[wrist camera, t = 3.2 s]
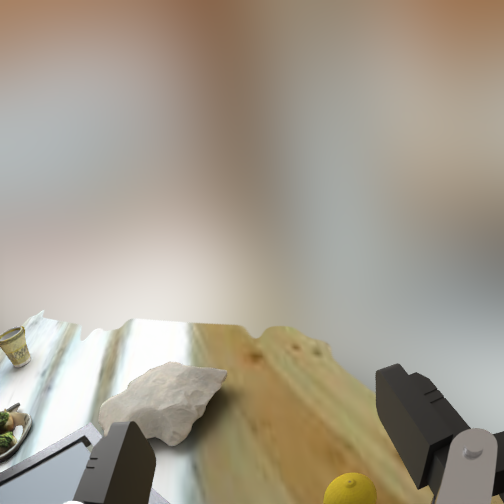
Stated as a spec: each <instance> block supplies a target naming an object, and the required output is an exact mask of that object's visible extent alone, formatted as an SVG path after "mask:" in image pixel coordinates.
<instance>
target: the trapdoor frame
mask: <svg viewBox="0 0 504 504" xmlns="http://www.w3.org/2000/svg"><path fill="white" fill-rule="evenodd" d="M101 438H102V435H101V434H100V433H99V432H98V431H97V430H96V428H95V427H94V426H93V425H92V424H91V422H90V423H89V424H87V425H85V426H84V427H82V428H80V429H79V430H77V431H75V432H74V433H72V434H70V435H68V436H67V437H65V438H63V439H61V440H60V441H58V442H56V443H54V444H53V445H51V446H49V447H47V448H46V449H44V450H42V451H40V452H38V453H37V454H35V455H33V456H31V457H29V458H27V459H26V460H24V461H22V462H20V463H18V464H16V465H14V466H12V467H11V468H9V469H7V470H5V471H3V472H1V473H0V486H1V485H3V484H5V483H7V482H9V481H11V480H13V479H15V478H16V477H18V476H20V475H22V474H24V473H26V472H28V471H30V470H31V469H33V468H35V467H37V466H39V465H40V464H42V463H44V462H46V461H48V460H49V459H51V458H53V457H55V456H56V455H58V454H60V453H62V452H63V451H65V450H67V449H69V448H70V447H72V446H74V445H75V444H77V443H78V444H79V443H81V442H82V443H83V444H84V445H85V447H88V446H89V445H92V446H93V447H94V446H95V445H96V444H97V443H98V441H99V440H100V439H101ZM148 504H170V503H169V502H168V501H166V500H165V499H164V498H163V497H162V496H161V495H160V494H158V493H157V492H156V491H155V490H154V489H153V488H152V487H151V492H150V497H149V503H148Z"/></svg>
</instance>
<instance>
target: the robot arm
mask: <svg viewBox="0 0 504 504" xmlns="http://www.w3.org/2000/svg"><path fill="white" fill-rule="evenodd" d="M376 408H377V412H378V416H379V418H380V421H381V422H382V424H383V426H384V428H385V430H386V431H387V433H388V435H389V437H390V439H391V441H392V442H393V444H394V446H395V448H396V450H397V452H398V453H399V455H400V457H401V459H402V461H403V463H404V465H405V466H406V468H407V470H408V472H409V474H410V476H411V478H412V479H413V481H414V483H415V485H416V487H417V489H418V490H419V489H421V488H423V487H425V486H427V485H429V487H430V489H431V491H432V492H433V494H434V495H433V498H432V501H431V504H490V503H491V497H492V496H495V495H498V494H499V496H500V497H501V499H502V501H503V502H504V431H503V432H500V433H496V434H491V433H490V432H488V431H486V430H484V429H478V428H475V429H471V428H470V427H469V426H468V425H467V424H466V422H465V421H464V420H463V419H462V418H461V416H460V415H459V414H458V413H457V411H456V410H455V409H454V408H453V407H452V406H451V404H450V403H449V402H448V401H447V400H446V398H444V396H443V395H442V393H441V392H440V391H439V390H437V388H436V386H435V385H434V384H433V383H432V382H431V381H430V379H429V378H427V377H424V376H423V375H421V374H419V373H417V372H416V373H413V374H411V375H408V374H407V373H406V371H405V370H404V369H403V368H402V366H401V365H400V364H394V365H391V366H389V367H386V368H383V369H380V370H377V371H376ZM89 458H90V460H88V462H87V465H86V469H85V470H84V472H83V475H82V477H81V480H80V482H79V485H78V487H77V490H76V493H75V495H74V498H73V500H72V501H69V502H66V503H63V504H148V503H149V497H150V492H151V487H152V482H153V477H154V472H155V467H156V458H155V453H154V451H153V449H152V447H151V446H150V444H149V442H148V441H147V439H146V438H145V436H144V434H143V433H142V431H141V429H140V428H139V426H138V424H137V423H136V422H134V421H126V422H113V423H112V424H111V426H110V429H109V431H108V434H107V436H106V437H102V438H101V439H100V440H99V441H98V443H97V444H96V445H95V446H94V447H93V450H92V452H91V455H90V457H89Z"/></svg>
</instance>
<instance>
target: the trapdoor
mask: <svg viewBox="0 0 504 504" xmlns="http://www.w3.org/2000/svg"><path fill="white" fill-rule="evenodd" d="M90 455H91V454H90V452H89V451H88V450H87V448H86V447H85V445H84V444H83V443H82V442H81V443H79V444H78V443H77V444H75V445H74V446H72V447H70V448H69V449H67V450H65V451H63V452H62V453H60V454H58V455H56V456H55V457H53V458H51V459H49V460H48V461H46V462H44V463H42V464H40V465H39V466H37V467H35V468H33V469H31V470H30V471H28V472H26V473H24V474H22V475H20V476H18V477H16V478H15V479H13V480H11V481H9V482H7V483H5V484H3V485H1V486H0V504H63V503H66V502H69V501H72V500H73V498H74V495H75V493H76V490H77V487H78V485H79V482H80V480H81V477H82V475H83V472H84V470H85V469H86V465H87V462H88V460H90V458H89V457H90Z"/></svg>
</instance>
